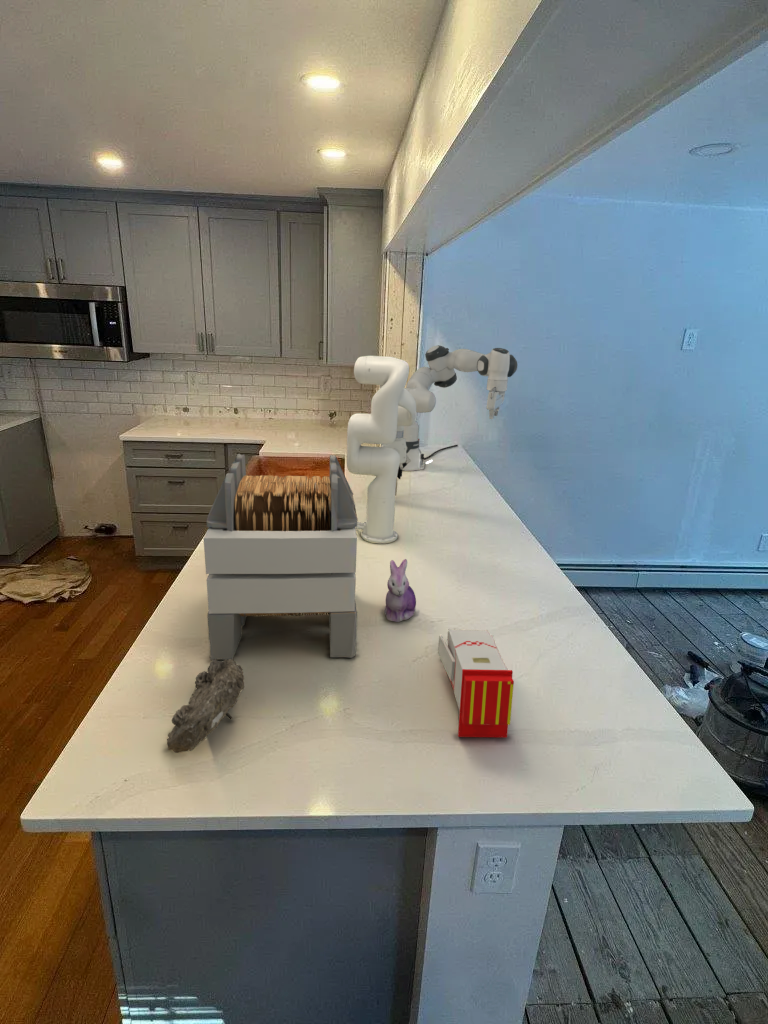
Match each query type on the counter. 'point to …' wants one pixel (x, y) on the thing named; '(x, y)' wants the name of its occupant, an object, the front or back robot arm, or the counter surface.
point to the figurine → (399, 594)
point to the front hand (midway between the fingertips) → (391, 477)
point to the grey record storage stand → (281, 554)
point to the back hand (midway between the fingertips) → (493, 417)
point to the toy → (478, 682)
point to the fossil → (206, 705)
